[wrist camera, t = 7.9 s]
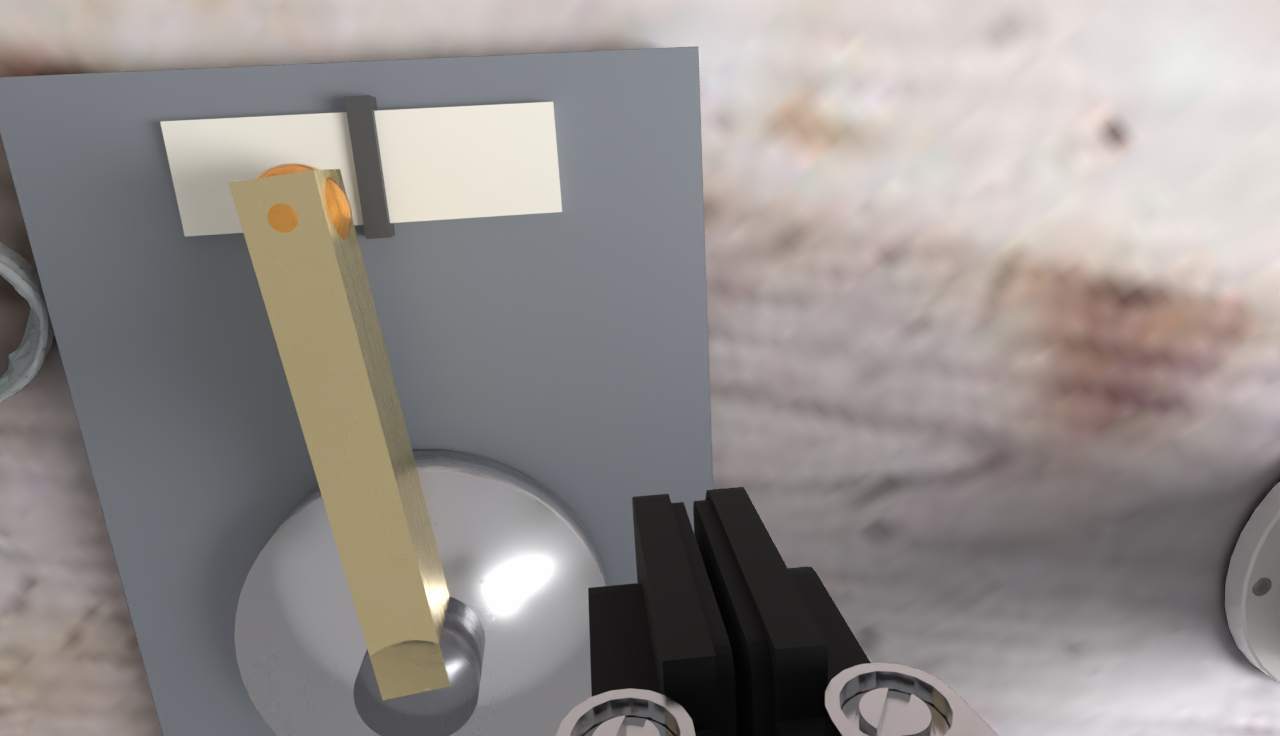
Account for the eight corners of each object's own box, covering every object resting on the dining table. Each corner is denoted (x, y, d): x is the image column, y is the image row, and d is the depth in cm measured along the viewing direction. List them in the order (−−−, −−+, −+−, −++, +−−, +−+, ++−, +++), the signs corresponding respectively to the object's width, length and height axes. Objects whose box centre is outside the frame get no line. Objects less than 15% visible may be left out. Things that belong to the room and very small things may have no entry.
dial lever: (631, 715, 29) (646, 809, 24) (310, 785, 28) (268, 895, 24) (521, 131, 23) (515, 124, 19) (108, 196, 22) (5, 204, 18)
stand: (686, 55, 25) (703, 42, 22) (712, 740, 32) (727, 792, 29) (32, 84, 23) (-36, 74, 20) (216, 807, 30) (184, 871, 27)
